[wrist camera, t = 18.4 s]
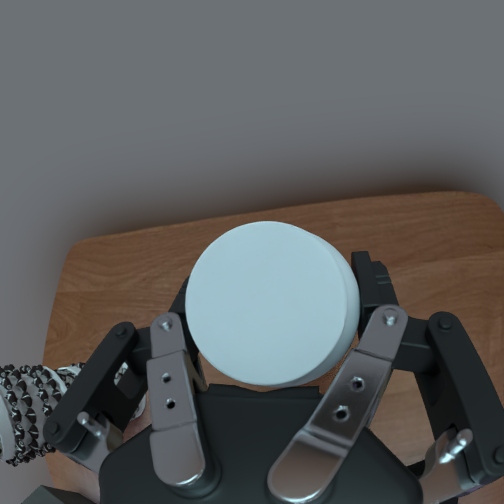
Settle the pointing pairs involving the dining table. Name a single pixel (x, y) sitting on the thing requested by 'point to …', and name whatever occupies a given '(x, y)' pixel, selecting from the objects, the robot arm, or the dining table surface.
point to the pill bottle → (272, 305)
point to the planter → (55, 497)
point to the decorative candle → (34, 407)
